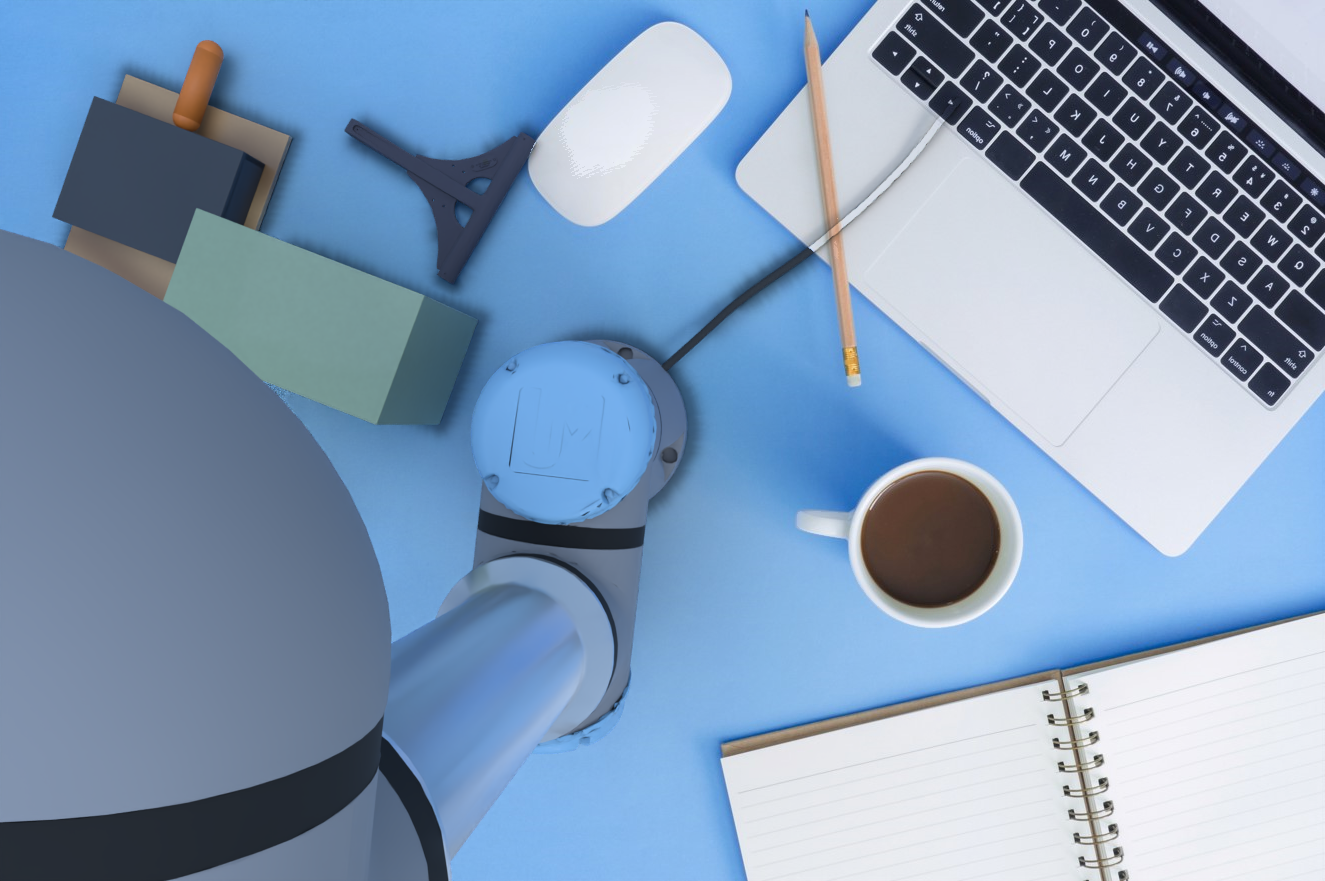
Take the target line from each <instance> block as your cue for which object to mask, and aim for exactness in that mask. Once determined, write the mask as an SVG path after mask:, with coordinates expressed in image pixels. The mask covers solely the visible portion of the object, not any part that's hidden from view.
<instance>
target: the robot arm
mask: <svg viewBox="0 0 1325 881" xmlns="http://www.w3.org/2000/svg"><path fill="white" fill-rule="evenodd" d="M814 253H815V252H813V251H812V250H811V249H809V248H808V246H807V247H806V248H804V249H803V250H802V251H800V252H799V253H797V254H796V255H795V256H793V257H792V258H790V259H789V260H788V261H786V262H785V263H784V264H781V265H780V266H779V267H778V268H777V269H775V270H773V271H772V272H770V273H769V274H768V275H766V276H765V277H764V278H762V279H761V280H759V281H758V282H756V283H755V284H753V285H752V286H750V287H749V288H748V289H747V290H745V291H744V292H743V293H742V294H740V295H739V296H737V297H736V298H735V299H733V301H731V302H730V303H729V304H727V305H726V306H725V307H724V308H723V309H721V311H720V312H719V313H717V314H716V315H715V316H714V317H713V318H712V319H710V321H709V322H708V323H707V324H706V325H704V326H703V328H701V329H700V330H699V331H698V332H697V333H696V334H695V335H693V337H691V338H690V339H689V340H688V341H687V342H686V343H684V344H683V345H682V346H681V347H680V348H679V349H678V350H677V351H676V352H675V353H673V354H672V355H671V356H670V357H669V358H668V359H666V360H665V362H663V363H662V364H661V363H660V362H659V361H658V360H656V359H655V358H654V357H653V356H651V355H650V354H648V353H647V352H645V351H643V350H642V349H640V348H638V347H636V346H633V345H631V344H629V343H626V342H622V341H617V340H611V339H597V338H596V339H587V340H561V341H552V342H546V343H542V344H536V345H535V346H531V347H529V348H526V349H524V350H522V351H520V352H519V353H517V354H515V355H514V356H512V357H510V358H509V359H508V360H507V361H505V362H504V363H503V364H502V365H501V366H499V367H498V368H497V369H496V371H494V372H493V374H492V375H491V376H490V377H489V378H488V380H487V381H486V383H485V385H484V386H483V388H482V390H481V391H480V394H479V396H478V398H477V400H476V403H475V406H474V409H473V412H472V417H471V423H470V445H471V452H472V456H473V461H474V464H475V466H476V469H477V471H478V473H479V475H480V477H481V479H482V480H481V490H480V499H479V510H478V519H477V526H476V534H475V542H474V543H475V545H474V552H473V561H472V562H473V563H472V569H471V570H470V571H469V572H468V573H466V574H465V575H464V576H463V577H461V578H460V579H459V580H458V581H457V582H456V583H455V584H454V585H453V586H452V587H451V589H450V590H449V591H448V593H447V594H446V596H445V598H444V599H443V601H442V602H441V604H440V605H439V607H438V610H437V612H436V615H435V618H434V619H432V620H430V621H429V622H427V623H426V624H423V625H422V626H420V627H418V628H417V629H414V630H413V631H411V632H409V633H407V634H406V635H404V636H402V637H400V638H398V639H397V640H395V641H393V642H392V623H391V614H390V603H389V600H388V595H387V591H386V586H385V582H384V579H383V574H382V570H381V565H380V562H379V560H378V557H377V554H376V551H375V548H374V545H373V543H372V540H371V537H370V534H369V531H368V528H367V526H366V524H365V522H364V520H363V518H362V516H361V513H360V512H359V509H358V507H357V505H356V503H355V501H354V499H353V496H352V495H351V492H350V490H349V489H348V487H347V486H346V484H345V483H344V480H343V479H342V477H341V476H340V474H339V473H338V471H337V469H336V468H335V466H334V465H333V463H332V461H331V459H330V458H329V456H328V455H327V453H326V451H325V450H324V449H323V448H322V446H321V445H320V444H319V443H318V442H317V440H316V438H315V437H314V436H313V435H312V434H311V432H310V430H309V429H308V428H307V426H306V425H305V424H304V423H303V421H302V420H300V418H299V417H298V416H297V415H296V414H295V412H293V410H292V409H291V408H290V407H289V406H288V404H286V403H285V401H284V400H283V399H282V398H281V397H280V396H279V395H278V393H276V392H275V391H274V390H273V389H272V388H271V387H270V386H269V385H268V383H267V382H265V381H262V380H261V379H260V378H259V377H258V376H257V375H256V374H255V373H254V372H253V371H251V370H250V369H249V368H248V367H247V366H246V365H245V364H244V363H243V362H242V361H241V360H240V359H239V358H237V357H236V356H235V355H234V354H233V353H232V352H231V351H230V350H229V349H228V348H226V347H225V346H224V345H223V344H221V343H220V342H219V341H218V340H216V339H215V338H214V337H213V336H211V335H210V334H209V333H208V332H206V331H205V330H204V329H203V328H201V327H200V326H199V325H198V324H196V323H195V322H194V321H193V320H191V319H190V318H189V317H188V316H186V315H185V314H184V313H183V312H181V311H179V310H177V309H176V308H174V307H172V306H170V305H169V304H167V303H165V302H164V301H162V300H160V299H158V298H157V297H155V296H153V295H152V294H150V293H148V292H146V291H145V290H143V289H141V288H140V287H138V286H136V285H134V284H133V283H131V282H129V281H127V280H126V279H124V278H122V277H121V276H119V275H117V274H115V273H113V272H111V271H110V270H108V269H106V268H104V267H102V266H100V265H98V264H95V263H93V262H91V261H89V260H86V259H84V258H82V257H80V256H78V255H75V254H73V253H71V252H69V251H66V250H64V248H62V247H59V246H57V245H55V244H53V243H51V242H47V241H43V240H40V239H37V238H33V237H30V236H25V235H23V234H19V233H15V232H12V231H10V230H9V231H8V230H5V229H1V228H0V881H453V873H452V861H453V859H454V858H455V857H456V856H457V854H458V852H459V851H460V850H461V848H462V847H463V846H464V844H465V843H466V841H468V839H469V838H470V837H471V835H472V834H473V832H474V831H475V830H476V828H477V827H478V826H479V824H480V823H481V822H482V820H484V818H485V816H486V815H487V814H488V812H489V811H490V809H491V808H492V807H493V806H494V805H495V803H496V801H497V800H498V799H499V798H500V796H501V795H502V793H503V792H504V791H505V790H506V788H507V786H509V784H510V782H511V781H512V780H513V778H514V777H515V776H516V775H517V773H518V771H519V770H520V769H521V768H522V767H523V765H524V764H525V762H526V761H527V760H528V758H529V757H530V756H531V755H555V754H557V755H559V754H563V753H568V752H574V751H576V750H577V749H578V748H579V745H582V746H585V747H586V746H587V747H588V746H589V747H590V746H591V745H594V744H596V743H597V742H599V741H601V740H602V739H603V738H605V737H607V736H608V735H609V734H610V733H611V732H612V731H613V730H614V729H615V727H616V726H617V725H618V723H619V722H620V720H621V718H622V715H623V712H624V708H625V703H626V699H627V698H628V695H629V692H630V689H631V688H630V687H631V684H632V666H631V664H632V655H633V643H634V638H635V628H636V618H637V608H638V598H639V591H640V581H641V571H642V562H643V554H644V544H645V534H646V525H647V518H648V509H649V503H650V500H651V499H653V498H654V497H656V495H658V494H659V493H660V492H661V491H662V490H663V489H664V488H665V487H666V486H667V484H668V483H669V482H670V480H671V479H672V477H673V476H674V475H675V474H676V472H677V470H678V468H679V466H680V463H681V462H682V459H683V457H684V453H685V450H686V445H687V439H688V416H687V410H686V406H685V403H684V399H683V397H682V394H681V391H680V389H679V387H678V385H677V383H676V382H675V381H674V378H673V377H672V376H671V375H670V373H669V370H670V369H671V368H673V367H674V366H675V365H676V364H677V363H678V362H679V361H680V360H681V359H682V358H684V357H685V356H686V355H687V354H688V353H689V352H690V351H691V350H692V349H694V348H695V347H696V346H697V345H698V344H700V342H701V341H703V340H704V339H705V338H706V337H707V336H708V335H709V334H710V333H711V332H713V331H714V329H715V328H717V327H718V326H719V325H720V324H721V323H722V322H723V321H724V320H726V318H728V317H729V316H730V315H731V314H732V313H734V312H735V311H736V310H737V309H739V307H741V306H742V305H744V304H745V303H746V302H747V301H748V300H750V299H752V297H754V296H756V295H757V294H758V293H759V292H761V291H762V290H763V289H765V288H766V287H768V286H769V285H771V284H772V283H774V282H775V281H776V280H778V279H779V278H781V277H782V276H784V275H785V274H787V273H788V272H789V271H791V270H792V269H793V268H795V267H797V266H798V265H799V264H801V263H802V262H803V261H805V260H806V259H808V258H809V257H811V255H813V254H814Z"/></svg>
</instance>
